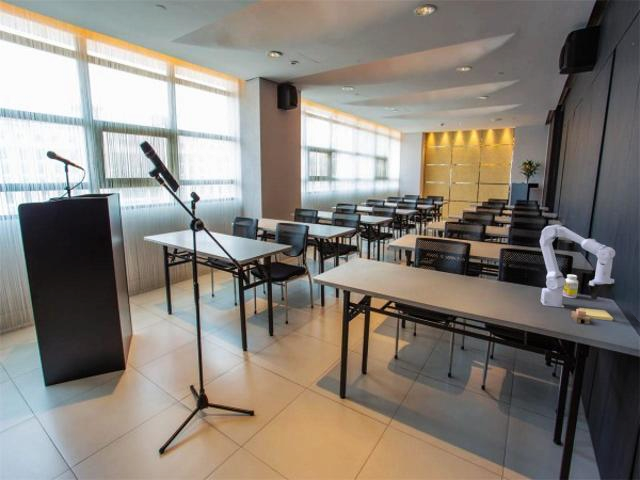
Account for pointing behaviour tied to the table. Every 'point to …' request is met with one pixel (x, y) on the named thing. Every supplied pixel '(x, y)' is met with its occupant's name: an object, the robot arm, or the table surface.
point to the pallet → (580, 318)
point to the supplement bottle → (571, 286)
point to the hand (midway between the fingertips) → (599, 297)
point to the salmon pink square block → (580, 312)
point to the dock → (598, 314)
